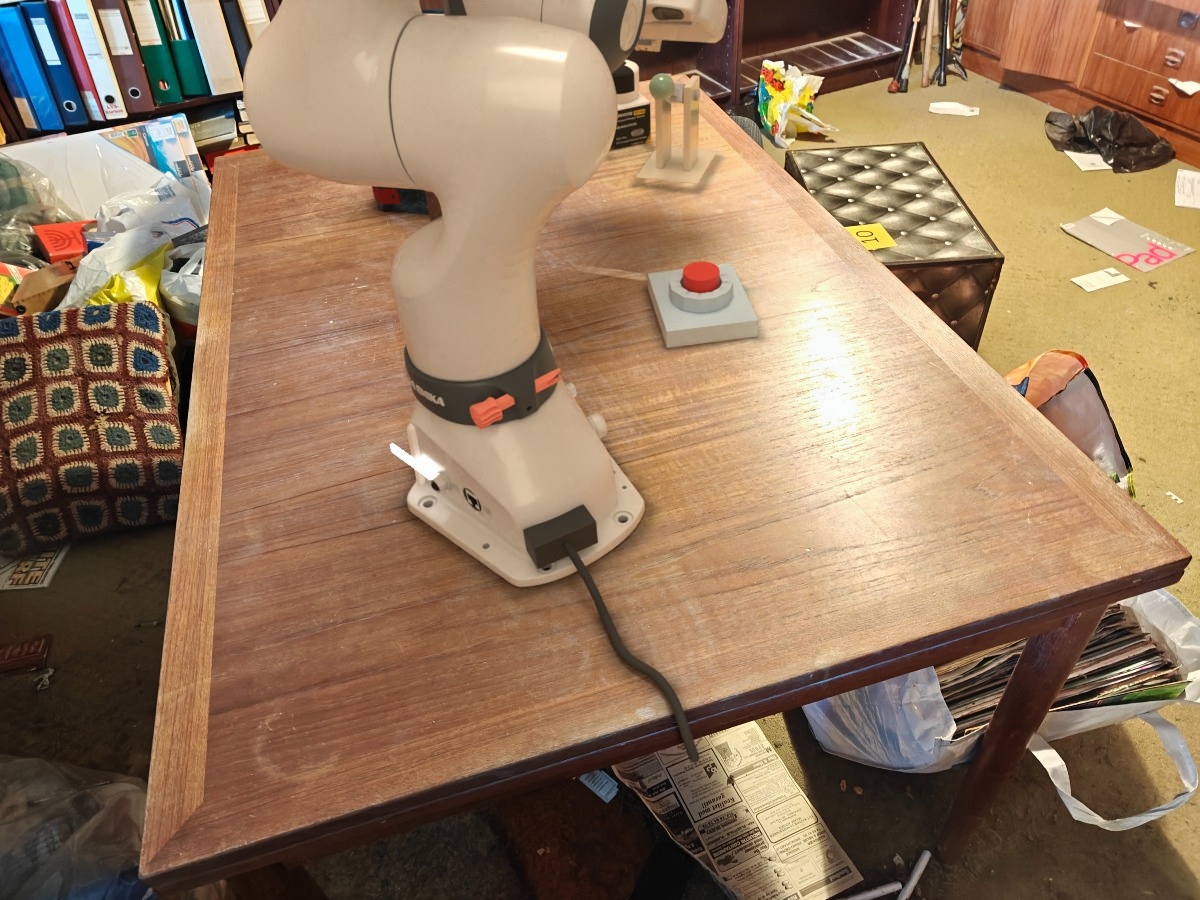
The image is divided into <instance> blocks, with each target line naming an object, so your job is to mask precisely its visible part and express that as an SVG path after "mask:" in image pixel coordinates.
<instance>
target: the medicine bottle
mask: <svg viewBox="0 0 1200 900" xmlns="http://www.w3.org/2000/svg"><path fill="white" fill-rule="evenodd" d="M611 75H612V77H613V81H614V85H615V89H616V95H617V107H618V113H617V124H616V130H615V135H614V139H613V142H612V145H611V147H610V150H609V152H611V151H612V152H613V151H616V150H621V149H625V148H630V147H634V146H638V145H643V144H648V143H651V142H652V125H651V124H652V123H651V122H652V121H651V119H652V118H651V101H650V100H649V99H647V98H646V97H645V96H644V95H643V94H641V93H640V67H639V65H638V64H637V63H636V62H634V61H632V60H629V59H626V60H625V61H624V62H623V63H622V65H621V66H620V67H619V68H618V69H616V70H615V71H614V72H613V73H611Z"/></svg>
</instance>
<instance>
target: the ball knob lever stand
mask: <svg viewBox="0 0 1200 900" xmlns="http://www.w3.org/2000/svg"><path fill="white" fill-rule="evenodd" d="M666 74H667V75H669V76H670V77H671V78H672V73H666ZM700 77H701V76H700V75H692V76H691V77H690V78H689V80H687V82H686V84H685V86H684V105H683V138H682V139H683V144H682V145H683V146H675V145H674V146H673V145H672V104H671V103H668V102H666V100H662V101H660V100H657V99H655V98H654V110H655V111H654V113H655V114H654V115H655V116H654V117H655V149H654V151H652V154H651V155H650V156H649V157H648V159H647V161H646V162H645V163H644V165H643V166H642V167H641V169H640V170H639V172H638V173H637V175H636V176H635V179H644V180H655V181H664V182H673V183H681V184H693V185H698V184H699V183H700V181H701V179H702V178H703V176H704V174H705V172H706V171H707V169H708V168H709V166H710V164H711V163H712V161H713V159H714V158H715V156H716V154H717V152H718V150H717V149H708V148H699V127H700V124H699V123H700V97H701V91H700V79H701V78H700Z"/></svg>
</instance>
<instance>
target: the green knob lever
mask: <svg viewBox="0 0 1200 900" xmlns="http://www.w3.org/2000/svg"><path fill="white" fill-rule="evenodd" d="M667 74H668V73H663V72H661V73H657V74H655V75H653V77H651V79H650V80H649V81H650V82H649V84H648V91H649V93H650V96H651V97H652V98H653V99H654V100H655V99H657V100H660V101H662V100H666V102H668V103H671V105H679V106H684V86H685V85H686V84H685V83H677V82H674V80H673V78H672V76H671V77H670V76H669V75H667Z"/></svg>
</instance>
